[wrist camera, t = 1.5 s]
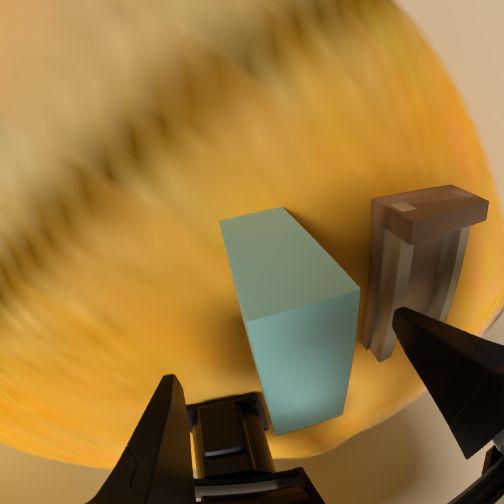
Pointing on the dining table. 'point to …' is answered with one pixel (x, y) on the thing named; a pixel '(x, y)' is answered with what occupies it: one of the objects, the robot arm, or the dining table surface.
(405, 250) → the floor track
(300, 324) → the pale teal rectangular prism
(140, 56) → the dining table surface
